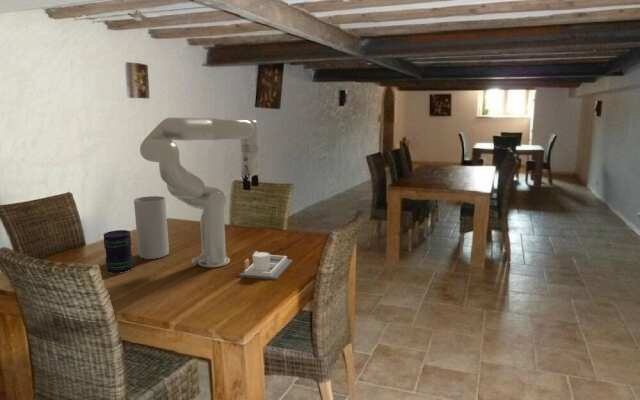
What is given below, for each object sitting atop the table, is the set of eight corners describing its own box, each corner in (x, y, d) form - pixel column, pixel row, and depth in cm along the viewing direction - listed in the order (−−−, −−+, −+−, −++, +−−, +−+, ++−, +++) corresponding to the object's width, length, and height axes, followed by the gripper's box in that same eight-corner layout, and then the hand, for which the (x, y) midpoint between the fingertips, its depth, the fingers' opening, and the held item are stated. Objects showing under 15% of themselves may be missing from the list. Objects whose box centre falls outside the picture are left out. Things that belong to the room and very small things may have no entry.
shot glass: (250, 274, 177) (249, 256, 176) (256, 268, 184) (255, 251, 182) (267, 275, 176) (267, 257, 175) (272, 269, 183) (272, 252, 181)
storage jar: (104, 275, 180) (100, 237, 177) (108, 266, 189) (105, 231, 186) (132, 272, 182) (128, 235, 179) (135, 264, 191) (131, 229, 188)
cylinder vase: (132, 257, 200) (127, 200, 195) (154, 249, 211) (150, 195, 206) (153, 261, 195) (148, 203, 190) (175, 253, 206) (171, 197, 201)
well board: (276, 279, 174) (276, 267, 173) (238, 276, 177) (238, 264, 176) (292, 261, 194) (292, 250, 193) (258, 259, 197) (258, 248, 196)
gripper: (250, 150, 192) (251, 191, 195) (264, 147, 208) (265, 185, 212) (233, 150, 193) (235, 191, 197) (249, 147, 210) (250, 184, 213)
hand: (251, 187), depth 204 cm, fingers open, 9 cm apart
